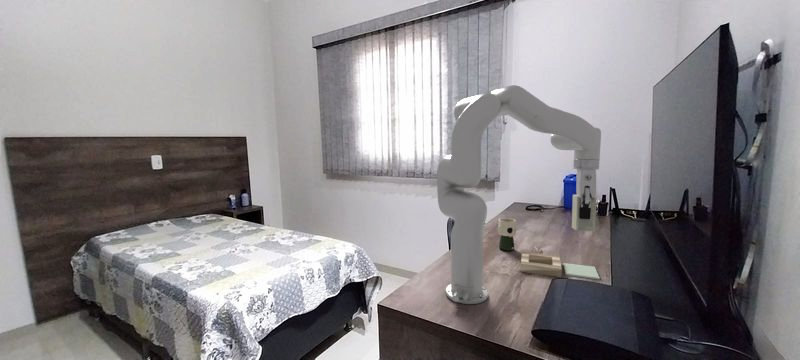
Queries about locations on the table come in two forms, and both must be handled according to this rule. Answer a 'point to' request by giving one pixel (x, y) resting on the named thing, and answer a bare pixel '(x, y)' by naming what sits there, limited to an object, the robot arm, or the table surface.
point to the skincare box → (583, 223)
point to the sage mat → (581, 271)
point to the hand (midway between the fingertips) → (583, 216)
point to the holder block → (541, 264)
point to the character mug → (507, 233)
